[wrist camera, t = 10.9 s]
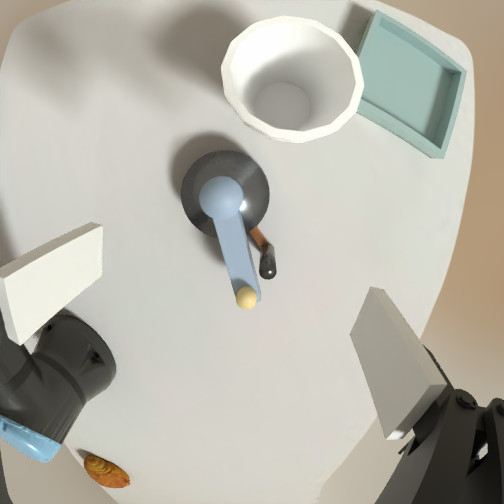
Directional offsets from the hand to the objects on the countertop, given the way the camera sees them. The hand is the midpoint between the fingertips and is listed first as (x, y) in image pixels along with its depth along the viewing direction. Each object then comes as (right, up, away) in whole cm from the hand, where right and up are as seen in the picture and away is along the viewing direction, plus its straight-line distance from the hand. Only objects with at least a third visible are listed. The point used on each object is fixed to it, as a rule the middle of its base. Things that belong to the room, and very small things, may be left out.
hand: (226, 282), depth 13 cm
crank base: (0, +7, +18) cm, 20 cm away
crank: (-1, +3, +16) cm, 17 cm away
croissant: (-42, -64, +45) cm, 89 cm away
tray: (+19, +21, +13) cm, 31 cm away
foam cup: (+4, +17, +15) cm, 23 cm away
